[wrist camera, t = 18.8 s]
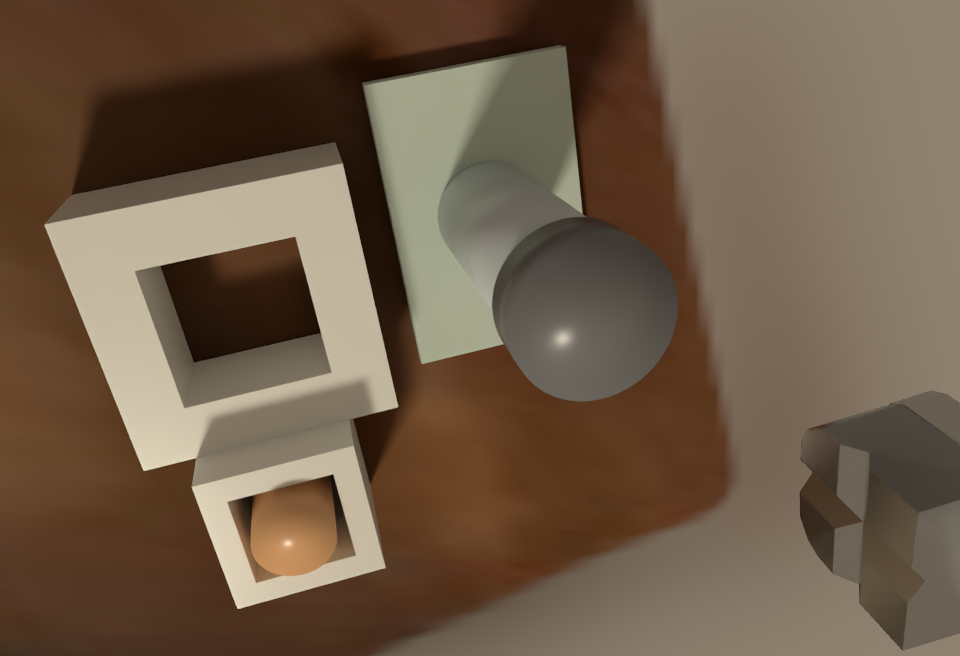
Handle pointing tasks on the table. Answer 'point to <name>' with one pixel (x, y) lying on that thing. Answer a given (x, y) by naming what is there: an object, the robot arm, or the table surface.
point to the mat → (449, 150)
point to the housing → (243, 375)
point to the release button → (294, 527)
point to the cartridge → (559, 283)
